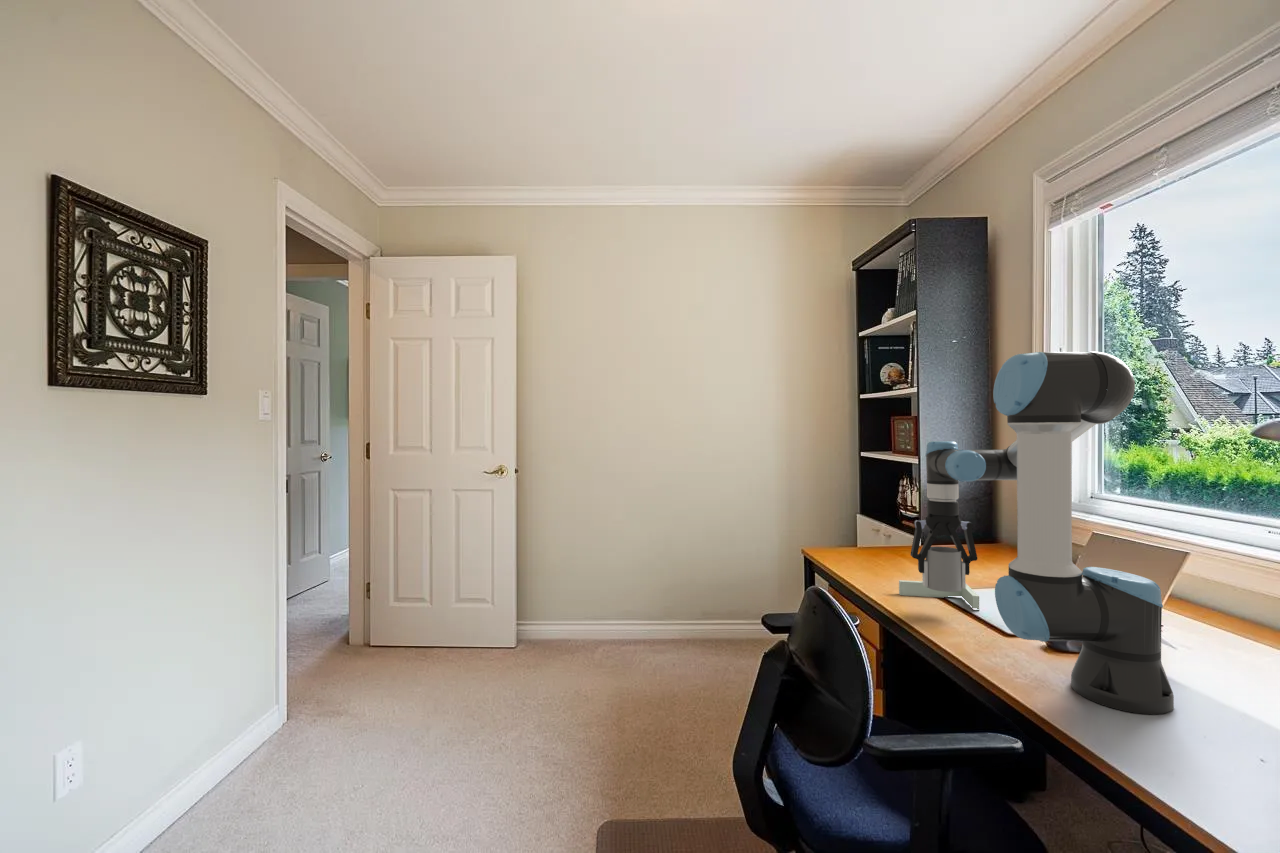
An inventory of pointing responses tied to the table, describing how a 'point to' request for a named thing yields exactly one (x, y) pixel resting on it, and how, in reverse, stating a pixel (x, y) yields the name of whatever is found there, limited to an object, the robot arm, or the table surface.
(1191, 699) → the table surface
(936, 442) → the robot arm
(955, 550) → the cup
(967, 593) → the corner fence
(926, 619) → the table surface
